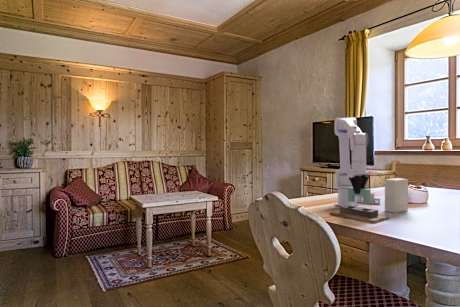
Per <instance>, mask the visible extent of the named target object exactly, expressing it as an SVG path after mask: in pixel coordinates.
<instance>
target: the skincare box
mask: <svg viewBox="0 0 460 307" xmlns="http://www.w3.org/2000/svg"><path fill="white" fill-rule="evenodd" d="M408 189H409V179H407V178H401V177H395V178H394V177H392V178H385V179H384V211H385V212H390V213H393V214H394V213H395V214H396V213H401V212H408V210H409V209H408V207H409V203H408V202H409V200H408V199H409V196H408V195H409V190H408Z"/></svg>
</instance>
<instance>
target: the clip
mask: <svg viewBox="0 0 460 307" xmlns="http://www.w3.org/2000/svg"><path fill="white" fill-rule="evenodd" d="M370 194H371V189H370V188H365V189H362V188H360V194H355V193H354V190H353V187H349V188H348V201H349V202H355V196H362V197H363V199H362V200H363V203H362V204H363V205H370V204H371V203H370Z"/></svg>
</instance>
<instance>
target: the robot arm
mask: <svg viewBox="0 0 460 307" xmlns="http://www.w3.org/2000/svg"><path fill="white" fill-rule="evenodd" d="M333 125H334V126H333V127H334V128H333V129H334V135H335V136H338V142H339V144H338V146H339V148H338V149H339V164H340V165H339V169H338V170H336V171H335V172H334V185H335V187H336V188H337V203H334V206H338V207H341V206H346V205H350V206H356V207H357V206H359V203H358V202H357V196H355V202H349V201H348V188H349V187H353V190H354V193H355V194H360V188H362V189H366V185H367V182H368V181H369V179H370V175H371V170H367V146H368V145H369V135H368V133H367V132H362V130H361V128H360V127H359V126H358V121H357V118H356V117H336V118H335V119H334V123H333ZM350 151H351V155H350ZM350 156H351V159H350ZM350 160H351V161H350Z"/></svg>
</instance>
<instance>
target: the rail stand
mask: <svg viewBox="0 0 460 307" xmlns="http://www.w3.org/2000/svg"><path fill="white" fill-rule="evenodd" d="M329 215H331V216H335V217H341V218H345V219H350V220H355V221H359V222H364V223H370V224H376V223H380V222H383V221H386V220H389V219H390V216H389V215H384V214H379V210H378V209H374V208H373V209H372V208H367V207H361V206H357V205H356V206H350V205H346V206H339V210H333V211H330V212H329Z"/></svg>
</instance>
